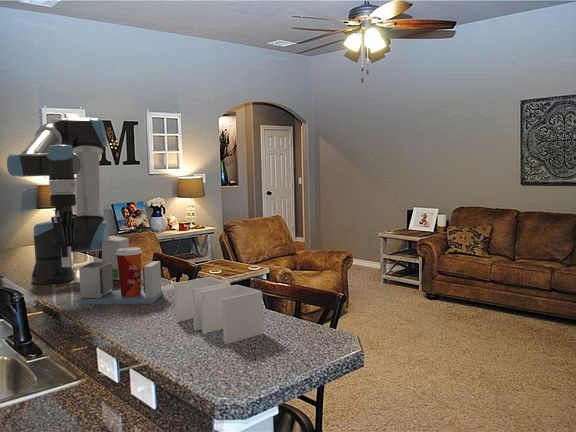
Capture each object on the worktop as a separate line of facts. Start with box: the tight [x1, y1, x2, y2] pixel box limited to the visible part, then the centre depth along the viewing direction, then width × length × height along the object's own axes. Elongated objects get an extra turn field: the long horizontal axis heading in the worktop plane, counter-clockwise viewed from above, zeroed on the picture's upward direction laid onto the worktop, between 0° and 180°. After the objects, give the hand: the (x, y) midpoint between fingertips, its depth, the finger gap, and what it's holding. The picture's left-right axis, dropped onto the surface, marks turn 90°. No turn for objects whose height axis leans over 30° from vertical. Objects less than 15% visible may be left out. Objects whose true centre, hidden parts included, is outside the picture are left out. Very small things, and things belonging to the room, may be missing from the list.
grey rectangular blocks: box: [173, 276, 264, 345], centre depth 135 cm, size 25×11×11 cm, turn 40°
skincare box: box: [101, 235, 130, 281], centre depth 201 cm, size 8×7×16 cm
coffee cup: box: [116, 246, 143, 297], centre depth 168 cm, size 8×8×15 cm
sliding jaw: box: [78, 261, 114, 299], centre depth 168 cm, size 10×7×10 cm
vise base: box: [79, 260, 164, 306], centre depth 168 cm, size 12×23×12 cm, turn 88°
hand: (67, 266), depth 168 cm, fingers closed
